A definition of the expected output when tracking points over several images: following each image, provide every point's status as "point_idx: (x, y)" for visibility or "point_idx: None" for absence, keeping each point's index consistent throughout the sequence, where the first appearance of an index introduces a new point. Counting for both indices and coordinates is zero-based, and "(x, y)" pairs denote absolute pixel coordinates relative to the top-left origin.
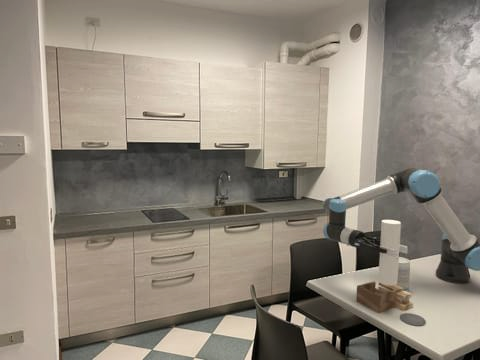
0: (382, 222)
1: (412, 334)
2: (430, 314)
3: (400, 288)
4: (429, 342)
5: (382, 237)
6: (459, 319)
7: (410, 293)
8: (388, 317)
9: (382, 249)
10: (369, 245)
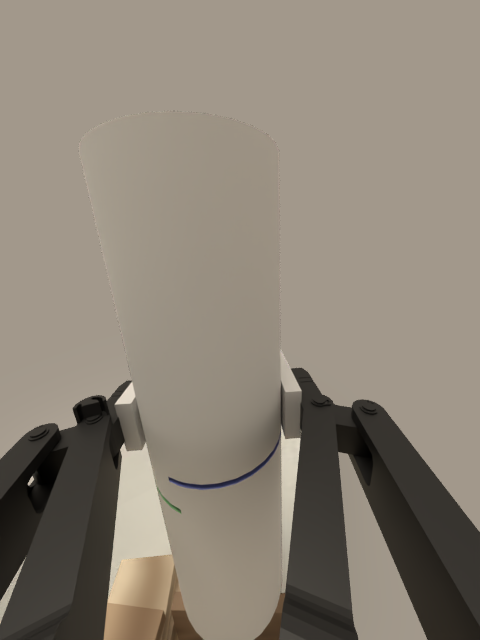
0: (273, 149)
1: (291, 466)
2: (156, 508)
3: (118, 613)
4: (282, 436)
5: (279, 320)
6: (138, 458)
7: (123, 563)
8: (287, 571)
9: (311, 379)
10: (405, 440)
